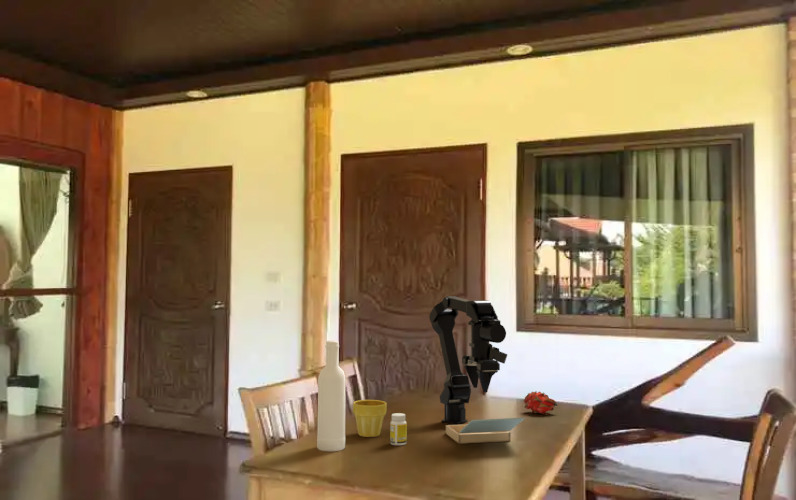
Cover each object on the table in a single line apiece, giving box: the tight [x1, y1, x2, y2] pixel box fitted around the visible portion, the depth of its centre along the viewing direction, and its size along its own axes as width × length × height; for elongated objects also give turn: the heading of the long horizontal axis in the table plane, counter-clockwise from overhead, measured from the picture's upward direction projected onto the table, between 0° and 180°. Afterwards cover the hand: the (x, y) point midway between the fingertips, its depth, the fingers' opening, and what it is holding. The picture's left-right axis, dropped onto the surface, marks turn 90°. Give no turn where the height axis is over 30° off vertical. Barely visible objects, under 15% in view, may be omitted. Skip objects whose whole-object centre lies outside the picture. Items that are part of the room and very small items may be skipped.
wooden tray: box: [445, 423, 511, 445], centre depth 199 cm, size 13×16×2 cm
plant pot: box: [352, 399, 388, 438], centre depth 202 cm, size 10×10×10 cm
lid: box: [459, 417, 526, 434], centre depth 188 cm, size 12×16×1 cm
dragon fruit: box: [522, 390, 558, 416], centre depth 236 cm, size 8×8×12 cm
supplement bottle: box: [389, 412, 408, 446], centre depth 190 cm, size 5×5×8 cm
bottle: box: [316, 340, 347, 452], centre depth 185 cm, size 8×8×30 cm
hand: (480, 390), depth 206 cm, fingers open, 9 cm apart
